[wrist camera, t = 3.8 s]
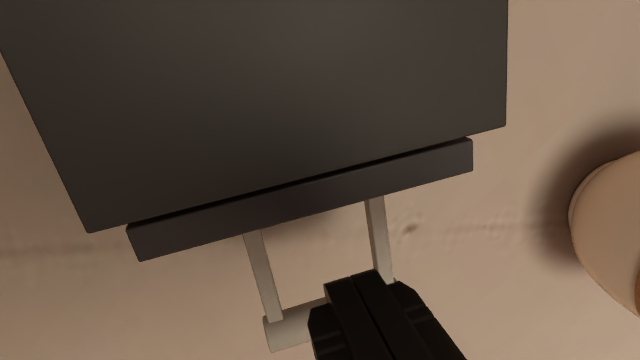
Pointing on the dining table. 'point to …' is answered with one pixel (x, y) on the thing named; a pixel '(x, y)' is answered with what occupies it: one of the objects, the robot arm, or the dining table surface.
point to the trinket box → (610, 228)
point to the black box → (244, 91)
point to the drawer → (299, 202)
